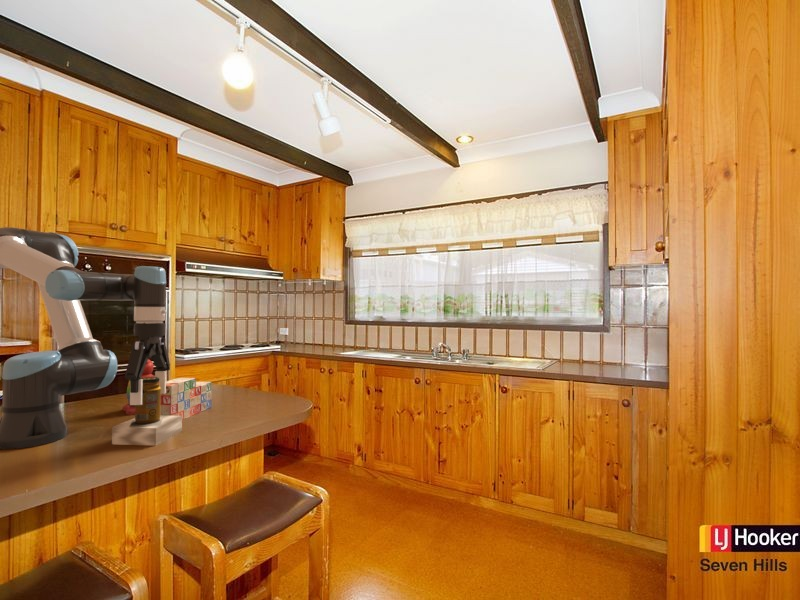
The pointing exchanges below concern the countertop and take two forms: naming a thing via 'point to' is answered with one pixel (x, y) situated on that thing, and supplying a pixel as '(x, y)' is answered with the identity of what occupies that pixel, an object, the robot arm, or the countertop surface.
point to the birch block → (146, 432)
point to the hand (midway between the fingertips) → (148, 398)
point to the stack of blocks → (185, 397)
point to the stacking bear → (129, 408)
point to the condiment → (149, 404)
